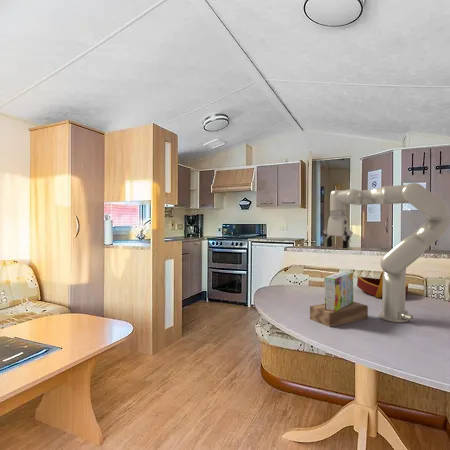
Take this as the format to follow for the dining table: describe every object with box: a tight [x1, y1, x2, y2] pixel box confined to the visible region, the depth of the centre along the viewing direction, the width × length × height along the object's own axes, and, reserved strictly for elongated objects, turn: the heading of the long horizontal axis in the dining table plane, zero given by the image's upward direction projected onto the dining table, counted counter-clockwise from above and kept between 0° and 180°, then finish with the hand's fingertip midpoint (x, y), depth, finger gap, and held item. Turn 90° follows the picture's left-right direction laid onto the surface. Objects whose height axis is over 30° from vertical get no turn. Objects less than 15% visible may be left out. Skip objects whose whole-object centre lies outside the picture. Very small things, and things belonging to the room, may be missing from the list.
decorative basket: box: [356, 270, 409, 299], centre depth 197 cm, size 34×29×15 cm
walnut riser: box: [309, 301, 369, 328], centre depth 146 cm, size 12×25×6 cm, turn 118°
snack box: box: [324, 270, 354, 312], centre depth 146 cm, size 21×6×15 cm, turn 137°
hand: (337, 247), depth 161 cm, fingers open, 9 cm apart
